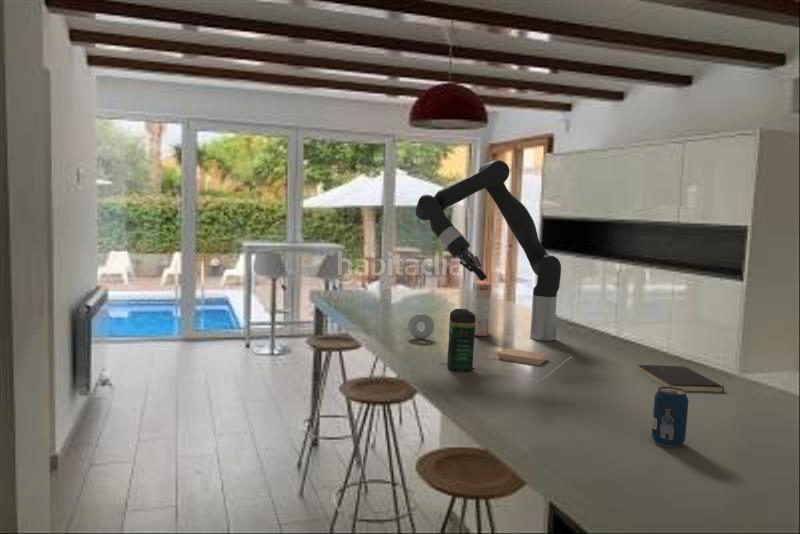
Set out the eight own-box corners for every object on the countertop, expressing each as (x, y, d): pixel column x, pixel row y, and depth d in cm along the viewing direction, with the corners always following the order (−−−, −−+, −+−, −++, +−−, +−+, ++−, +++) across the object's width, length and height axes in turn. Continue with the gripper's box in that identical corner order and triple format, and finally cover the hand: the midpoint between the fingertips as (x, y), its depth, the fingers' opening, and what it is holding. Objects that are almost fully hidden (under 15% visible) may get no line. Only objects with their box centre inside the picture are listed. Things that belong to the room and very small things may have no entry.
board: (497, 353, 224) (497, 351, 224) (547, 360, 215) (548, 359, 215) (484, 359, 213) (485, 357, 213) (537, 368, 205) (538, 366, 205)
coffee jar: (474, 372, 196) (477, 312, 194) (448, 371, 196) (451, 311, 194) (470, 364, 206) (473, 307, 204) (445, 363, 206) (448, 306, 204)
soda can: (675, 437, 146) (680, 386, 145) (690, 449, 139) (695, 395, 138) (645, 436, 146) (650, 385, 144) (659, 448, 139) (663, 394, 138)
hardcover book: (669, 392, 186) (670, 384, 185) (637, 371, 208) (638, 364, 208) (723, 393, 186) (724, 386, 186) (685, 373, 209) (686, 366, 209)
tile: (498, 353, 212) (539, 359, 206) (507, 348, 220) (547, 354, 214) (498, 358, 212) (539, 365, 206) (506, 353, 220) (547, 360, 214)
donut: (432, 338, 244) (434, 312, 243) (434, 340, 241) (435, 314, 240) (406, 337, 243) (407, 311, 242) (407, 339, 240) (408, 313, 239)
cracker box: (488, 337, 251) (491, 284, 249) (473, 336, 251) (476, 283, 249) (484, 330, 265) (487, 280, 263) (470, 329, 265) (472, 279, 263)
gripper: (454, 235, 220) (485, 273, 216) (468, 234, 232) (498, 271, 228) (439, 249, 223) (470, 287, 219) (453, 248, 235) (483, 284, 231)
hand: (484, 279), depth 223 cm, fingers closed
